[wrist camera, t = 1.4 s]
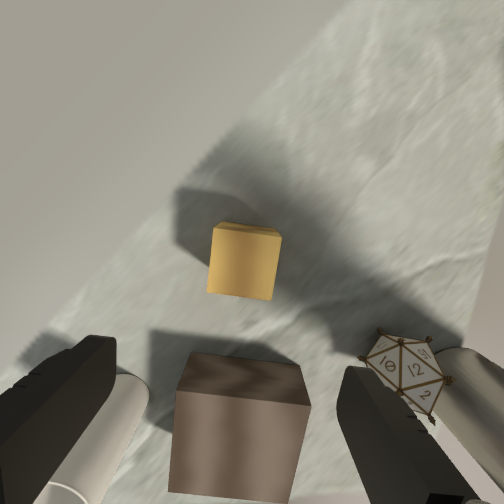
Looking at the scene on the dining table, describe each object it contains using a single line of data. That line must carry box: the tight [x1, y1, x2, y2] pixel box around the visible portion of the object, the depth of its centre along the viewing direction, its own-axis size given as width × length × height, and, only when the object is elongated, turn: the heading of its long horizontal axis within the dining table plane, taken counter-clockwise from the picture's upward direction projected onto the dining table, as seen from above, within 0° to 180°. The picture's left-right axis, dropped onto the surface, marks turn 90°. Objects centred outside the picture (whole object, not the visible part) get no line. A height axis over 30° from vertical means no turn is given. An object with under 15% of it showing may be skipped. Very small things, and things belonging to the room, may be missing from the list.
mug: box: [33, 374, 149, 504], centre depth 25 cm, size 10×7×12 cm, turn 171°
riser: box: [168, 352, 311, 504], centre depth 28 cm, size 14×14×6 cm
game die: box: [357, 328, 457, 426], centre depth 25 cm, size 9×8×10 cm
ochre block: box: [207, 221, 282, 301], centre depth 24 cm, size 6×6×6 cm
